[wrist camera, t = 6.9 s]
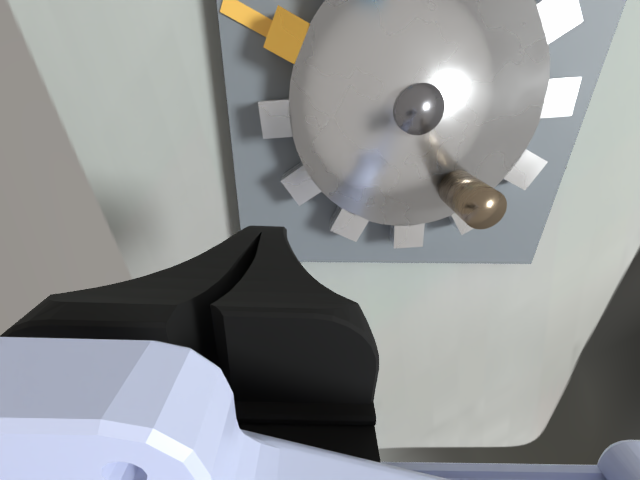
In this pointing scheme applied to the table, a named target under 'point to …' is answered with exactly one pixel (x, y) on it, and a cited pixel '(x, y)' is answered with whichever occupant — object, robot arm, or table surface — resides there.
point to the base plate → (374, 244)
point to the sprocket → (417, 107)
